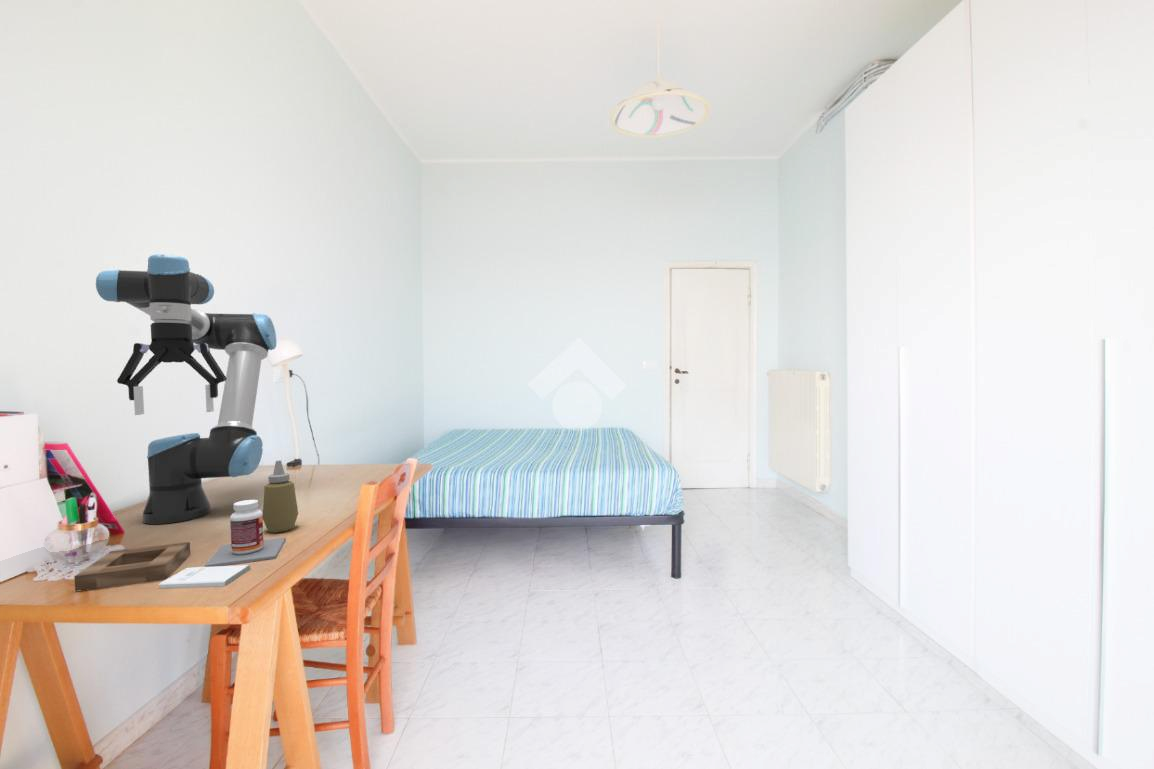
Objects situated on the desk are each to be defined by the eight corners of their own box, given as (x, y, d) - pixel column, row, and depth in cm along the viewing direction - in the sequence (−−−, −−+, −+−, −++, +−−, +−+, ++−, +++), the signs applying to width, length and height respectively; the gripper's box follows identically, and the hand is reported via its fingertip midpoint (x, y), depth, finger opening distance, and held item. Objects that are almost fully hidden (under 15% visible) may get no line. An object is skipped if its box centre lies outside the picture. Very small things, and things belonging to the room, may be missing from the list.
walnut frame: (111, 564, 108) (111, 551, 108) (190, 554, 113) (189, 541, 113) (75, 591, 95) (74, 576, 95) (165, 579, 100) (165, 564, 100)
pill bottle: (267, 549, 114) (265, 501, 113) (234, 557, 110) (232, 507, 109) (260, 543, 118) (258, 497, 118) (228, 550, 114) (226, 502, 114)
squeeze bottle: (306, 525, 133) (303, 458, 132) (280, 535, 125) (277, 464, 125) (281, 523, 135) (279, 457, 135) (255, 533, 127) (252, 463, 127)
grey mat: (222, 547, 118) (222, 545, 118) (285, 539, 122) (285, 537, 122) (204, 568, 105) (204, 565, 105) (275, 558, 110) (275, 555, 110)
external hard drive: (225, 589, 97) (158, 591, 96) (250, 571, 105) (189, 573, 104) (224, 581, 97) (157, 583, 96) (250, 564, 105) (188, 565, 104)
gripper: (94, 320, 109) (99, 417, 110) (230, 322, 118) (233, 411, 119) (111, 323, 116) (116, 414, 117) (238, 324, 125) (241, 409, 126)
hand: (175, 413), depth 118 cm, fingers open, 13 cm apart
